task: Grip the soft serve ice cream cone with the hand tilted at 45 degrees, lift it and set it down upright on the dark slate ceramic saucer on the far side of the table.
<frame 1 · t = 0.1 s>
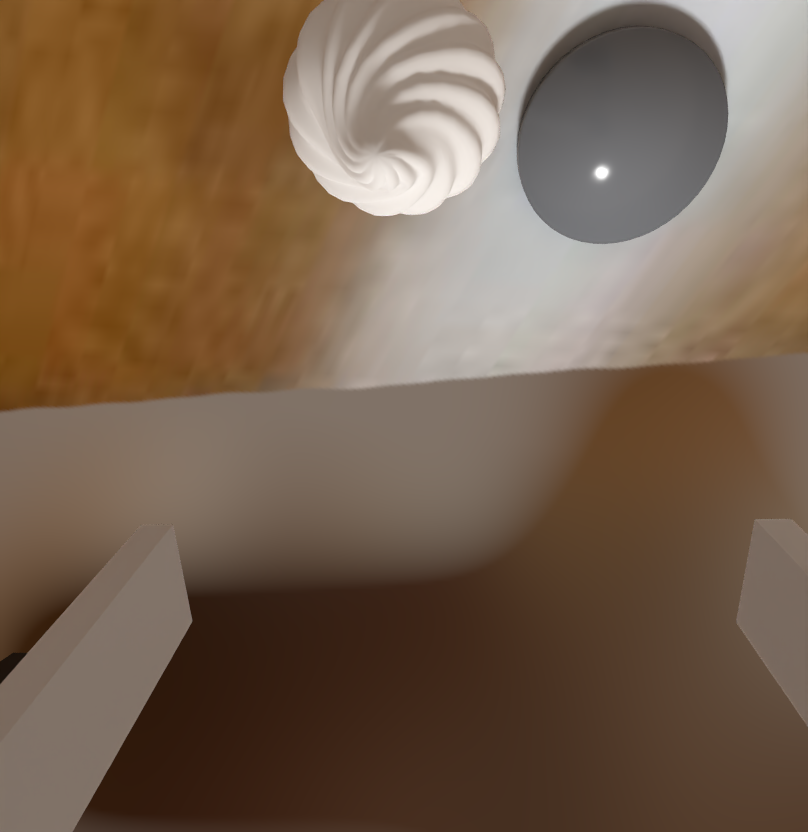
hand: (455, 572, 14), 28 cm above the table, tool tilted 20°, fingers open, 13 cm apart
soft serve ice cream cone: (403, 58, 32), on the table
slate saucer: (616, 142, 34), on the table
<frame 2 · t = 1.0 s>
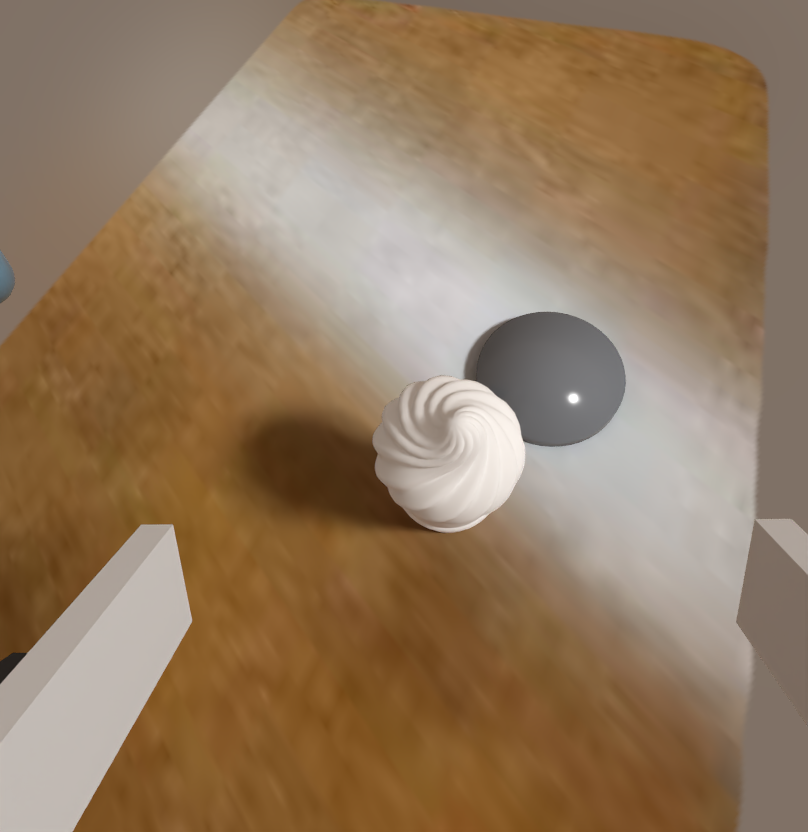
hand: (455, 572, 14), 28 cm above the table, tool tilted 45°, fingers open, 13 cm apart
soft serve ice cream cone: (447, 504, 44), on the table
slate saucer: (548, 379, 47), on the table
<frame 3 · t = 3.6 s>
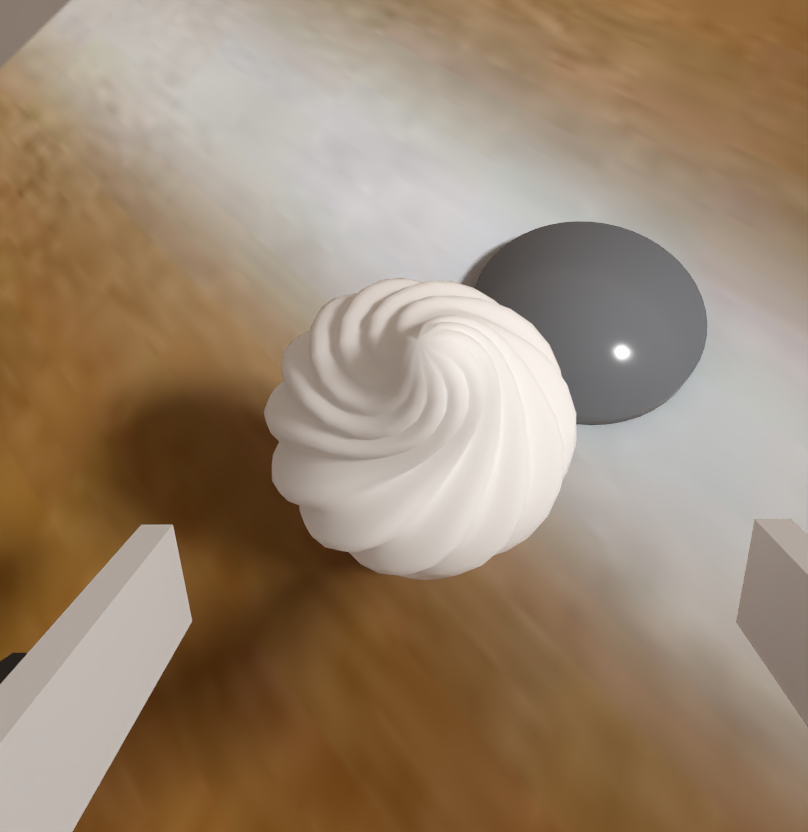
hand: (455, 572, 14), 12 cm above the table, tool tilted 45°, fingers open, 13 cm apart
soft serve ice cream cone: (430, 523, 27), on the table
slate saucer: (582, 322, 30), on the table
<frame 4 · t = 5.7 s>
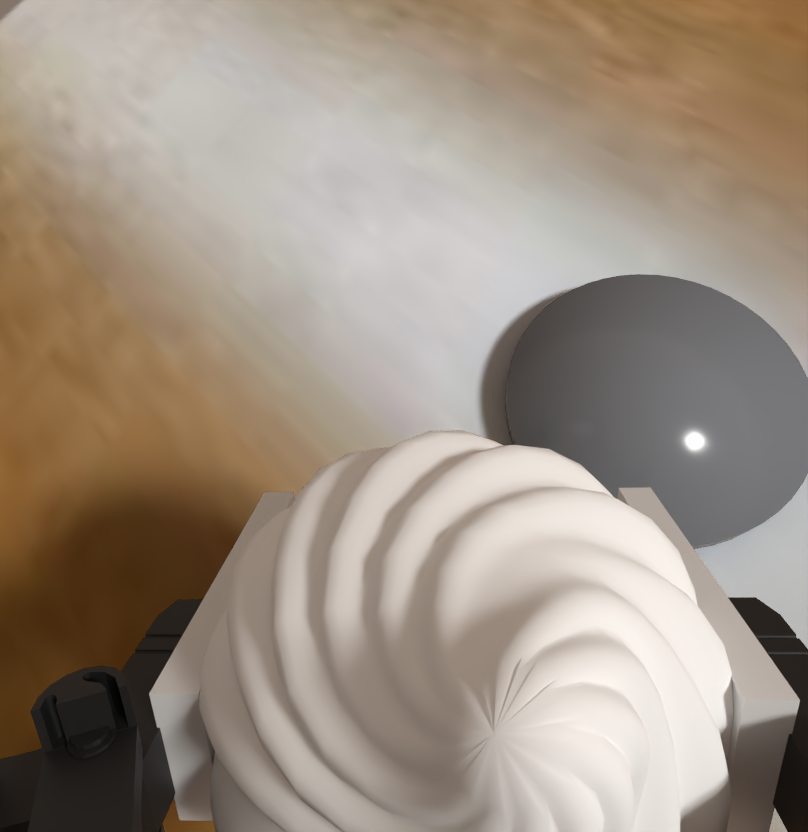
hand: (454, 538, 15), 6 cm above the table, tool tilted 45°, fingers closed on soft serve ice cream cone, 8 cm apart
soft serve ice cream cone: (455, 686, 20), on the table, touching gripper
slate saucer: (649, 407, 23), on the table
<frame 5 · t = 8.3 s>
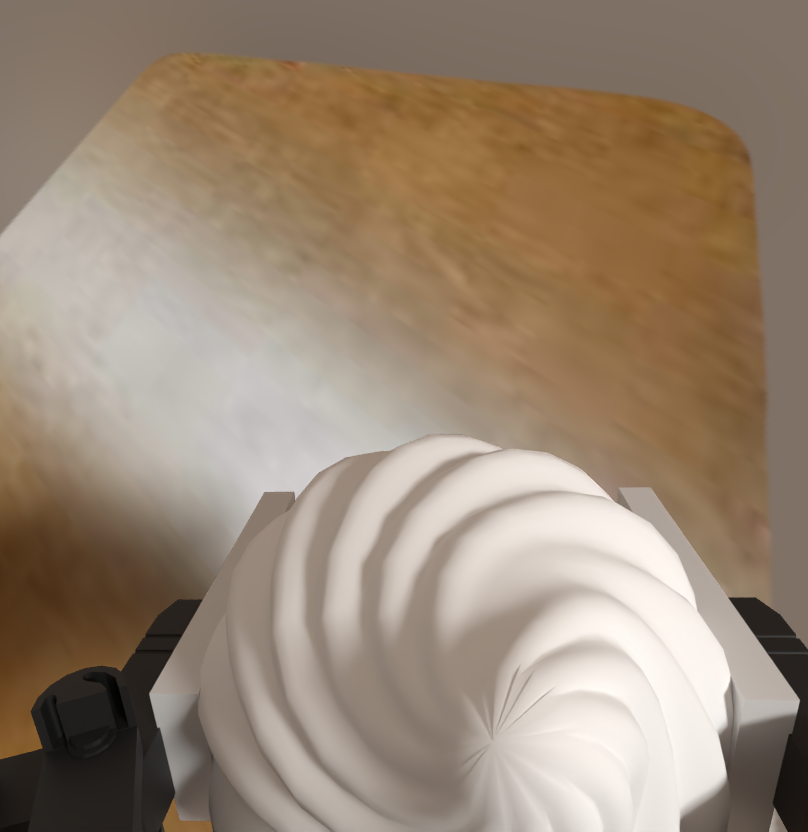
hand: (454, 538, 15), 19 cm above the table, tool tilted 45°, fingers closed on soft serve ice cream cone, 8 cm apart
soft serve ice cream cone: (455, 689, 20), point 12 cm above the table, touching gripper
when the fingers open (9 cm above the table, at t = 11.2 s): soft serve ice cream cone drops 1 cm, resting on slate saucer.
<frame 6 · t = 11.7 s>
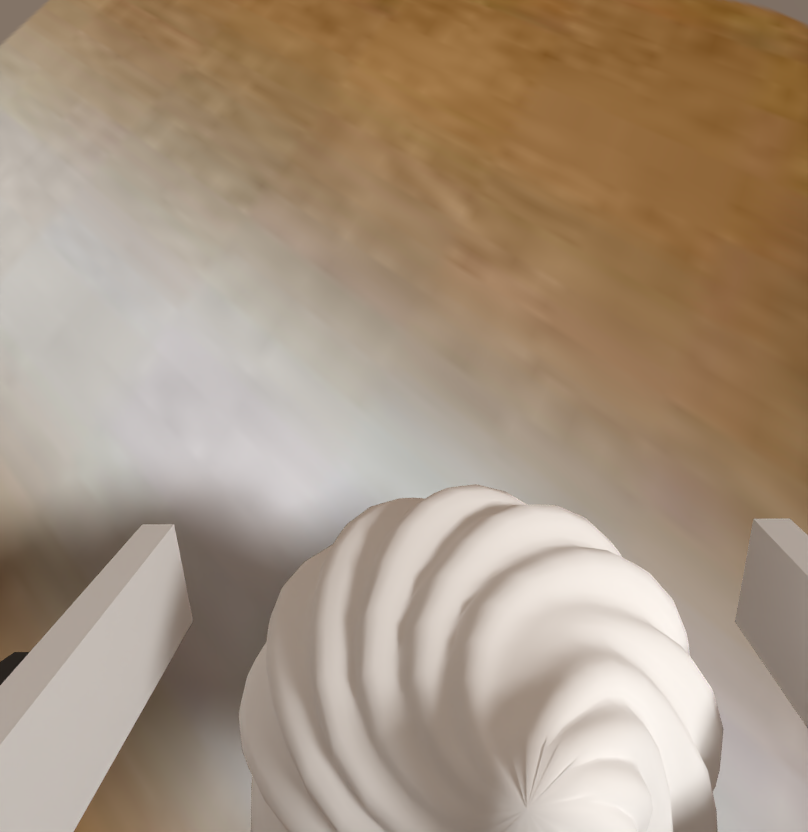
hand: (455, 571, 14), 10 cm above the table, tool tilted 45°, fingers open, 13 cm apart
soft serve ice cream cone: (456, 694, 21), point 1 cm above the table, touching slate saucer
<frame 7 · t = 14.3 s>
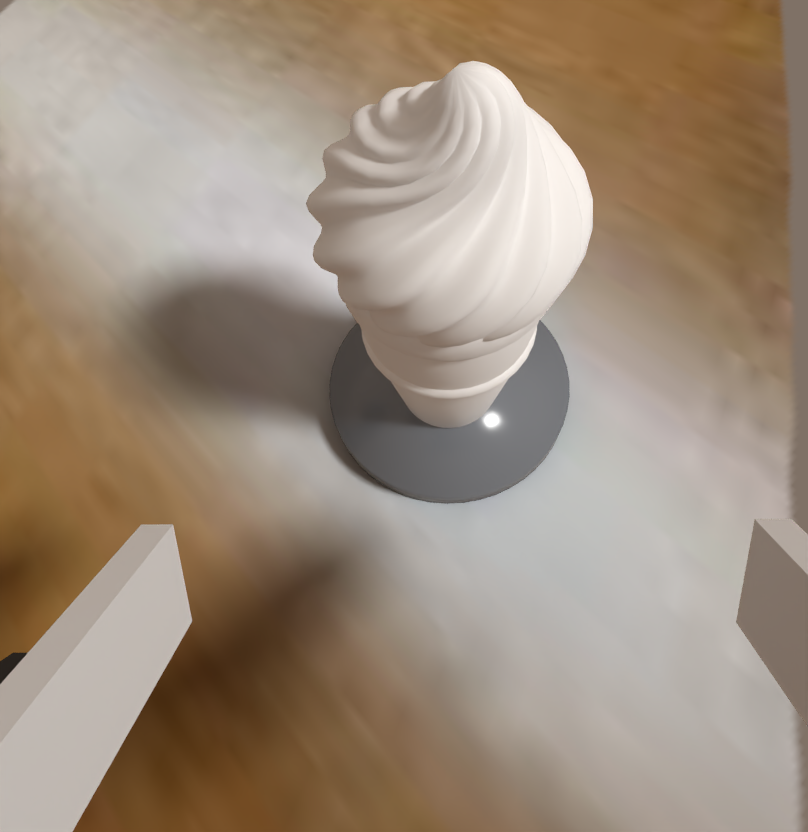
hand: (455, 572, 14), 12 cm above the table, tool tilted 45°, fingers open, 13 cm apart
soft serve ice cream cone: (449, 388, 28), point 1 cm above the table, touching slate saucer
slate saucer: (447, 391, 29), on the table
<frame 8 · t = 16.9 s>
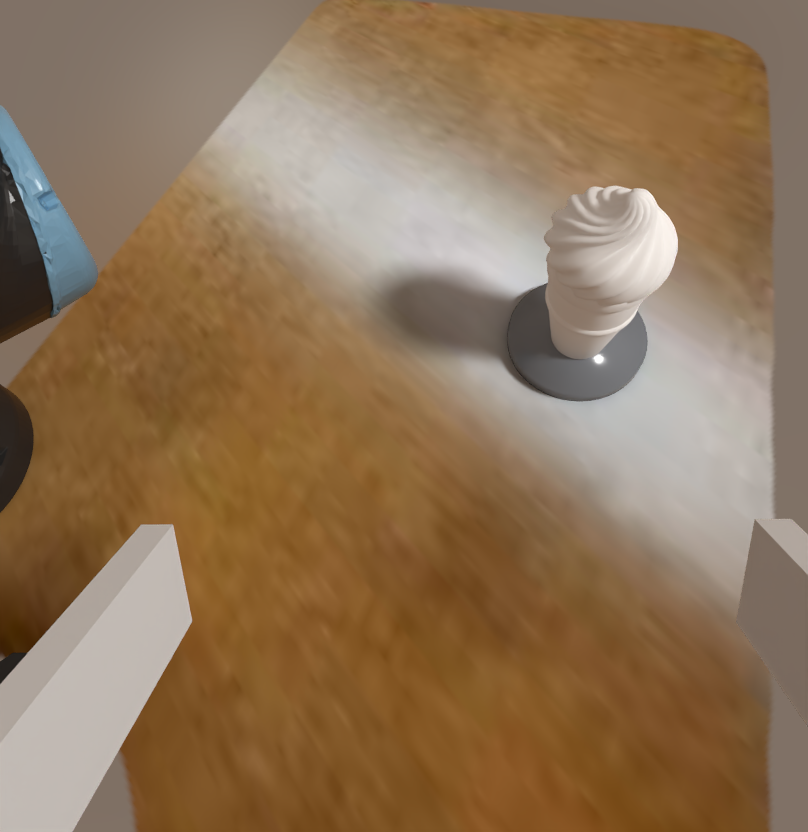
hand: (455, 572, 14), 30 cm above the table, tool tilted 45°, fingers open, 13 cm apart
soft serve ice cream cone: (577, 338, 49), point 1 cm above the table, touching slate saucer
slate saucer: (574, 341, 50), on the table
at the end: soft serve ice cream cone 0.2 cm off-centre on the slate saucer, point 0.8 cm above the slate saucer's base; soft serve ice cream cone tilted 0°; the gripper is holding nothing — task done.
